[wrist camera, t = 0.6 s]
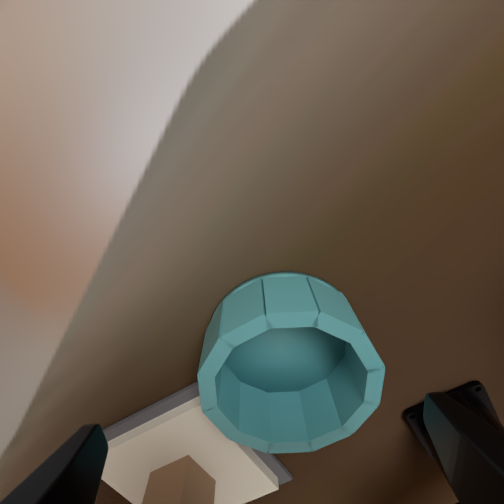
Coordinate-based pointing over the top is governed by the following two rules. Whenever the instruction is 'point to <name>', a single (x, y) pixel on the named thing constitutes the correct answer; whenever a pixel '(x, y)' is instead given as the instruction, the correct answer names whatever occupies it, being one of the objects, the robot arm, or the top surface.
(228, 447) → the lid
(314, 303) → the bowl
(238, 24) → the top surface
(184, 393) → the mat
